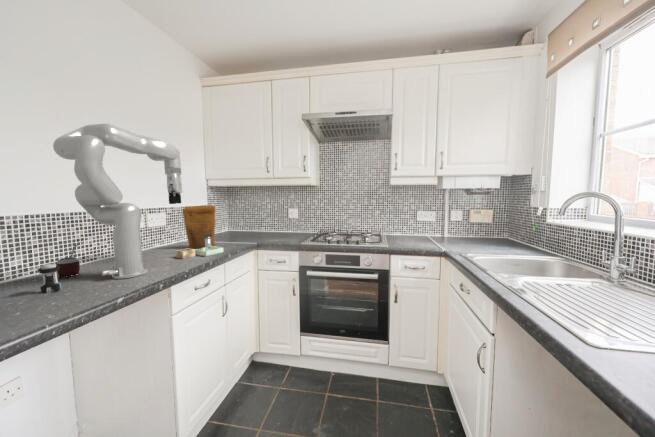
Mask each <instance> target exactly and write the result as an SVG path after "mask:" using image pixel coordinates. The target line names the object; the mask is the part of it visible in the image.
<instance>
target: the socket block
mask: <svg viewBox="0 0 655 437" xmlns="http://www.w3.org/2000/svg"><path fill="white" fill-rule="evenodd" d="M194 257H196V255H195V249H190V248H189V247H187V248H183V249H178V250H175V258H177V259H181V260H184V259H185V260H187V259H189V258H194Z"/></svg>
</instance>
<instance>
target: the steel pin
mask: <svg viewBox="0 0 655 437" xmlns="http://www.w3.org/2000/svg"><path fill="white" fill-rule="evenodd" d="M205 250H206V251H209V250H211V237H205Z"/></svg>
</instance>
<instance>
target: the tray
mask: <svg viewBox="0 0 655 437" xmlns="http://www.w3.org/2000/svg"><path fill="white" fill-rule="evenodd" d="M224 251H225V250H224V247H223V246H222V247H221V246H216V247H215V246H211V250H209V251H206V250H205V247H204V248H199V249H195V256H198V257H199V256H200V257H205V258H207V257H211V256H215V255H219V254H223V253H225V252H224Z"/></svg>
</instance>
